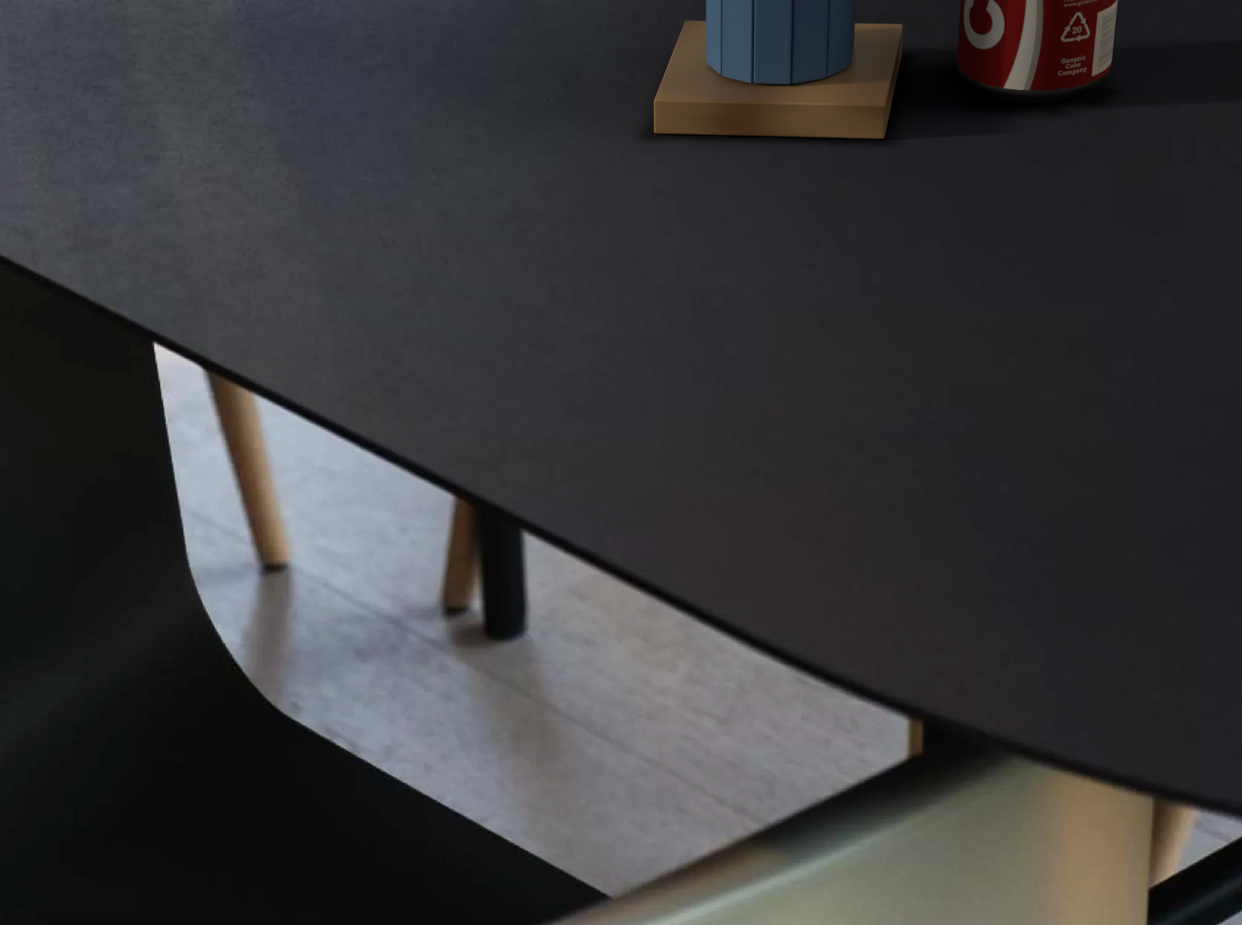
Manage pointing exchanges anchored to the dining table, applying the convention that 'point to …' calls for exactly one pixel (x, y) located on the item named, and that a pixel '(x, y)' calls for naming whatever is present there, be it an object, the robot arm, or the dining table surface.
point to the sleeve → (779, 39)
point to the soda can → (1035, 47)
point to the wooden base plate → (781, 93)
